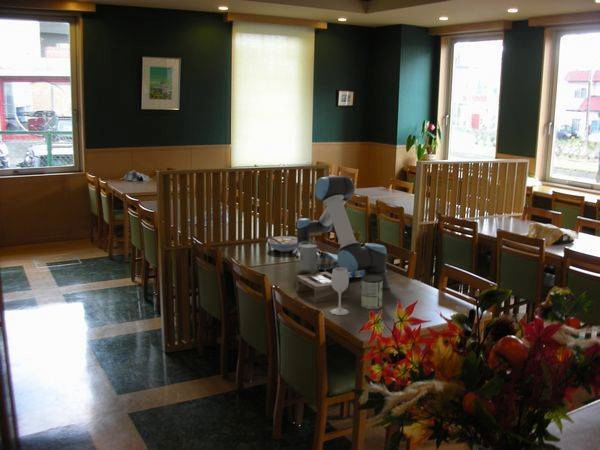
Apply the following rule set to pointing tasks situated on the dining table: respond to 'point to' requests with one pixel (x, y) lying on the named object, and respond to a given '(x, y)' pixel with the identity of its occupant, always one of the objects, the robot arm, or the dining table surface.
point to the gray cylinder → (308, 256)
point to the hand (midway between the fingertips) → (309, 257)
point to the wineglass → (339, 287)
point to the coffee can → (371, 291)
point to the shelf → (319, 287)
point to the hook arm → (319, 279)
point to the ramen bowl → (283, 243)
